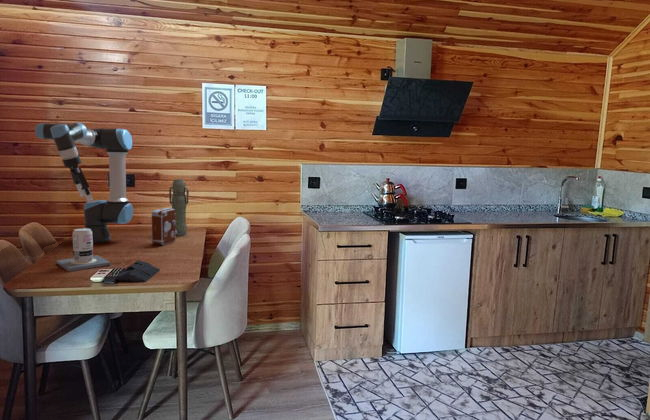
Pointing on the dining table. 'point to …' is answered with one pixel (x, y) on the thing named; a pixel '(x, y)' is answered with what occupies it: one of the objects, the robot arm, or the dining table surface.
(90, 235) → the supplement can
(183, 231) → the thermos
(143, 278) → the crumpled black cloth
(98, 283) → the dining table surface
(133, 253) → the dining table surface
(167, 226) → the cine camera
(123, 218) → the robot arm
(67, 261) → the board
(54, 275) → the dining table surface
